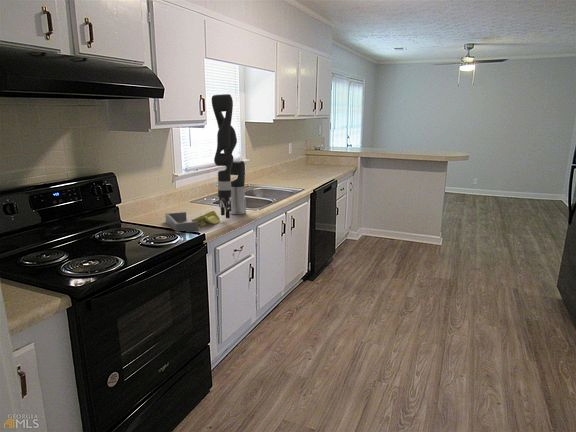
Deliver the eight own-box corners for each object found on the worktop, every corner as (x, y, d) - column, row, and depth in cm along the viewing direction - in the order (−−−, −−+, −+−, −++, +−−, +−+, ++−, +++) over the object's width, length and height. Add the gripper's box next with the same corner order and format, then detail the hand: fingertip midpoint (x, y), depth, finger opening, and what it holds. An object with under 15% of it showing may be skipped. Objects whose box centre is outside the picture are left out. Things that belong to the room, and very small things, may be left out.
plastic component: (200, 216, 241) (215, 209, 239) (206, 227, 241) (221, 220, 240) (188, 221, 221) (204, 214, 219) (194, 233, 222) (210, 226, 220)
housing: (185, 220, 240) (185, 211, 239) (198, 231, 216) (197, 222, 215) (165, 222, 235) (165, 213, 234) (176, 233, 211) (175, 224, 210)
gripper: (235, 190, 228) (235, 218, 231) (226, 186, 240) (227, 213, 244) (222, 191, 224) (222, 220, 228) (214, 187, 237) (215, 214, 240)
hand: (225, 216), depth 236 cm, fingers open, 8 cm apart
